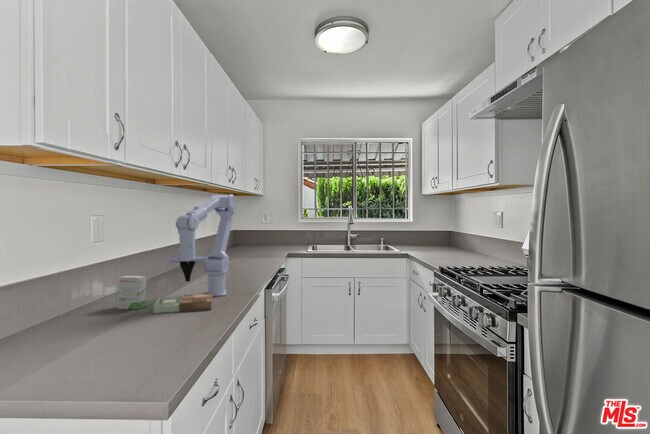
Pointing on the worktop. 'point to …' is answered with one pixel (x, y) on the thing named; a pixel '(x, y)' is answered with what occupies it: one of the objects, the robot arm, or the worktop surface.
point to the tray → (166, 309)
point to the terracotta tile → (200, 297)
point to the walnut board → (195, 303)
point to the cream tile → (169, 302)
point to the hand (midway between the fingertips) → (187, 281)
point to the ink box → (131, 292)
